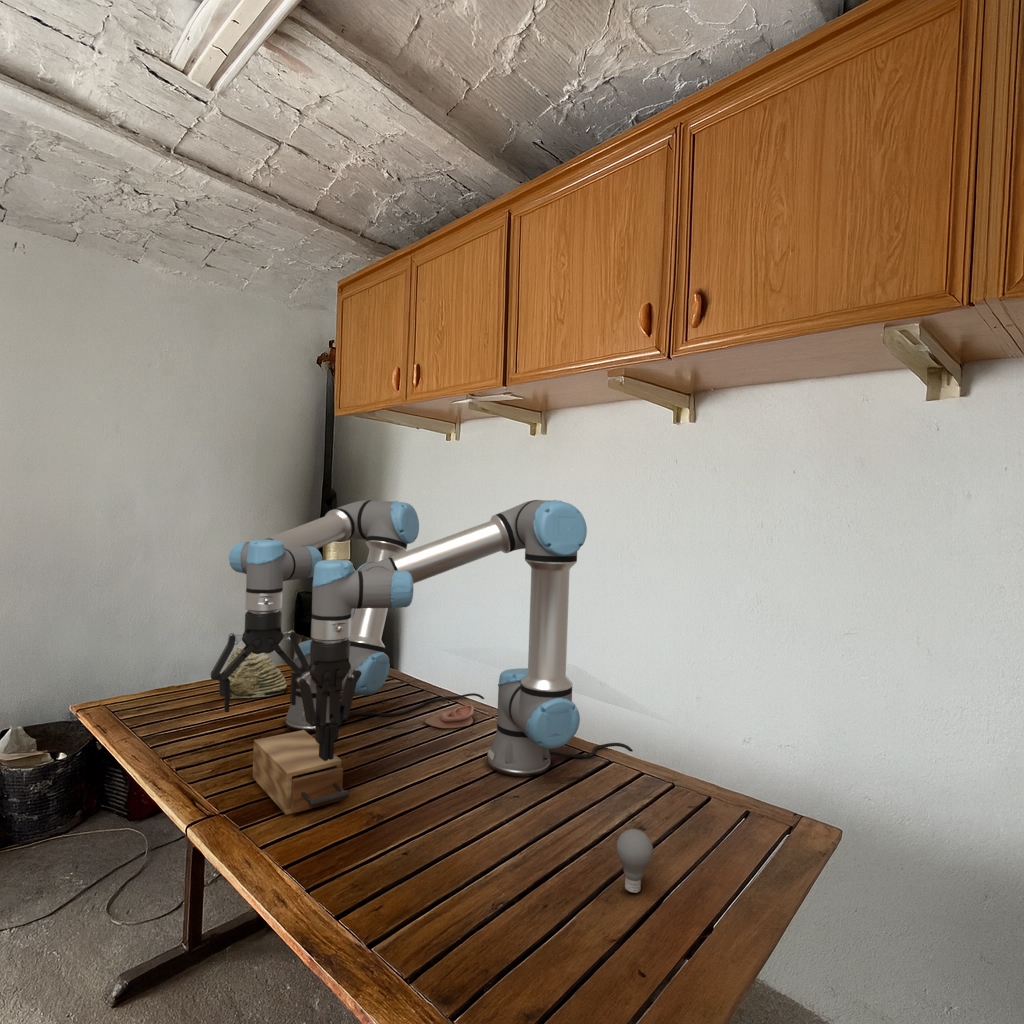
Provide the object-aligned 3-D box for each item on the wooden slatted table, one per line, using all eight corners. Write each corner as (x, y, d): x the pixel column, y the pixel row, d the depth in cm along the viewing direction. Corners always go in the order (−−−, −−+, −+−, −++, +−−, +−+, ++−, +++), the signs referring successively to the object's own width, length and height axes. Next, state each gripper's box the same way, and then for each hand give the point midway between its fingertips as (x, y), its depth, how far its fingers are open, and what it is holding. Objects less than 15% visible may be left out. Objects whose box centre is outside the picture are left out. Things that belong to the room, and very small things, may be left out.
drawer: (354, 810, 127) (355, 778, 126) (304, 826, 120) (305, 792, 120) (305, 766, 146) (306, 739, 146) (260, 777, 139) (261, 748, 139)
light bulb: (610, 879, 108) (613, 822, 108) (644, 879, 109) (647, 822, 109) (619, 902, 102) (622, 840, 102) (655, 901, 103) (658, 840, 103)
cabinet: (340, 799, 133) (341, 759, 133) (285, 815, 126) (287, 773, 125) (302, 765, 149) (303, 729, 149) (252, 777, 141) (253, 740, 141)
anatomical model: (421, 711, 177) (434, 699, 188) (420, 725, 177) (433, 712, 188) (466, 717, 174) (477, 704, 186) (466, 731, 174) (476, 717, 186)
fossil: (218, 695, 195) (220, 647, 195) (278, 685, 208) (279, 640, 207) (228, 703, 189) (230, 653, 188) (289, 692, 201) (290, 645, 201)
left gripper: (200, 616, 130) (197, 719, 130) (325, 611, 141) (321, 705, 142) (199, 610, 136) (196, 707, 137) (318, 605, 148) (315, 695, 148)
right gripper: (304, 646, 118) (300, 772, 118) (370, 639, 126) (365, 756, 127) (289, 638, 123) (285, 759, 124) (353, 632, 132) (349, 744, 132)
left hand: (260, 706), depth 139 cm, fingers open, 13 cm apart
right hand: (326, 757), depth 125 cm, fingers closed
